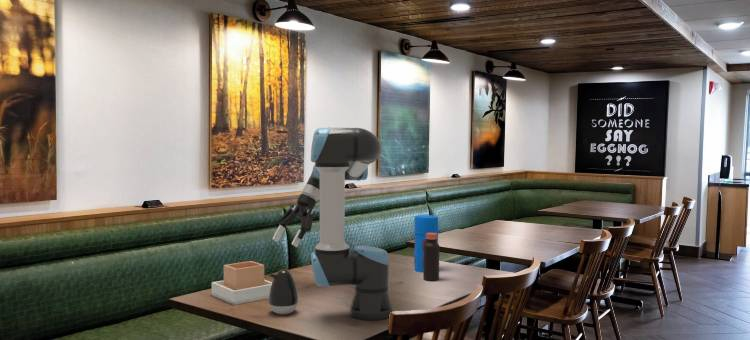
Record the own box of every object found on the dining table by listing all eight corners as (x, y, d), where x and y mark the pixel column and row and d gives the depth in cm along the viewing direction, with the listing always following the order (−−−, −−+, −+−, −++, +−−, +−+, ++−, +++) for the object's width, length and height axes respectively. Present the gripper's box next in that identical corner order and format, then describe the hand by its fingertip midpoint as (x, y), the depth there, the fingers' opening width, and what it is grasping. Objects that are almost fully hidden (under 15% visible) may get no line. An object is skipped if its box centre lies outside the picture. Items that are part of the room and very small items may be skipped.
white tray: (276, 296, 229) (276, 283, 229) (233, 305, 218) (233, 291, 217) (252, 287, 243) (252, 275, 243) (211, 295, 231) (211, 282, 231)
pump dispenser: (263, 311, 210) (263, 268, 209) (289, 306, 216) (289, 265, 215) (276, 318, 202) (275, 274, 201) (303, 313, 208) (303, 270, 207)
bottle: (431, 282, 253) (431, 235, 252) (420, 279, 258) (420, 233, 257) (442, 279, 258) (442, 233, 257) (430, 276, 263) (431, 231, 262)
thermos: (442, 270, 276) (442, 216, 275) (428, 273, 269) (428, 218, 267) (423, 266, 284) (424, 214, 282) (409, 270, 276) (409, 216, 275)
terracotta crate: (264, 293, 230) (264, 265, 230) (236, 298, 223) (235, 269, 222) (251, 288, 238) (251, 260, 237) (223, 293, 230) (223, 265, 230)
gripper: (333, 205, 239) (309, 252, 232) (297, 199, 257) (273, 242, 250) (321, 195, 234) (296, 243, 227) (285, 190, 253) (260, 234, 246)
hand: (284, 243), depth 239 cm, fingers open, 13 cm apart
